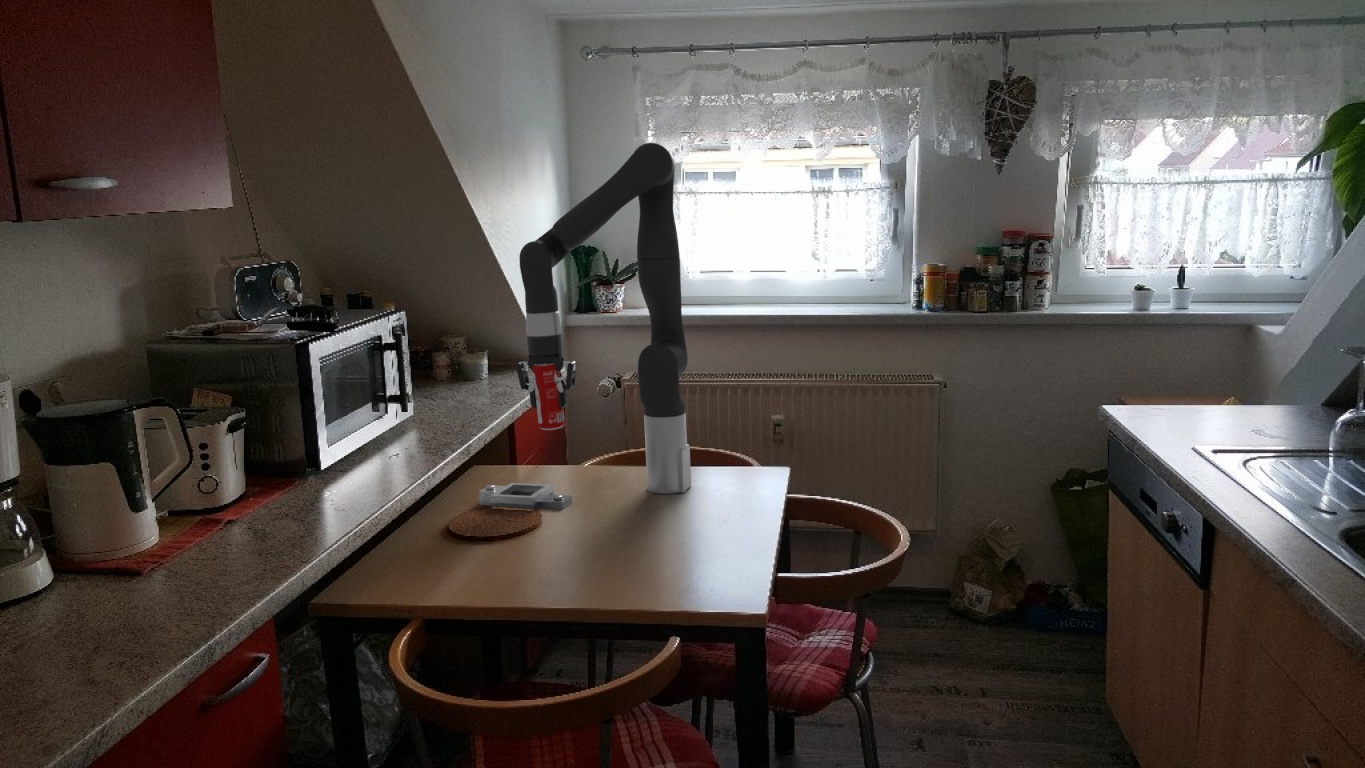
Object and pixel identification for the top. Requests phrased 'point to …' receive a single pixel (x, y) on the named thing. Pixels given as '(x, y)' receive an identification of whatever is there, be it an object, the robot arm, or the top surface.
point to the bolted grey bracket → (523, 496)
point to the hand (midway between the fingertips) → (549, 407)
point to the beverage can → (547, 397)
